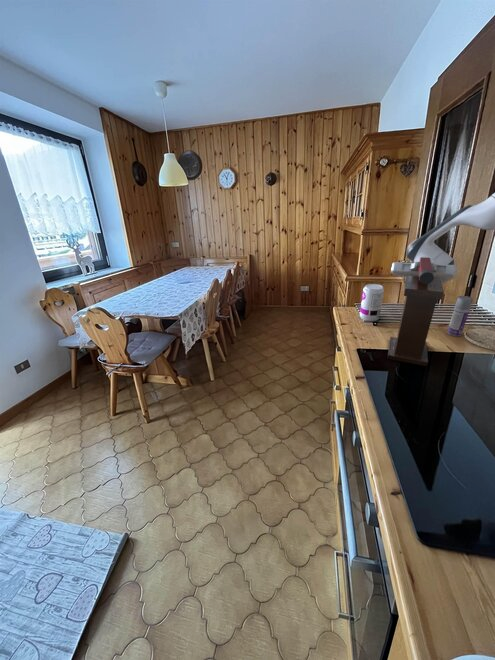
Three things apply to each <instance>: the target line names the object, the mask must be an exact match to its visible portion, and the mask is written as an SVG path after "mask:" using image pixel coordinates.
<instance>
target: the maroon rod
mask: <svg viewBox="0 0 495 660" xmlns="http://www.w3.org/2000/svg"><path fill="white" fill-rule="evenodd" d="M419 262H420V267H419V281H420V282H421V283H423V284H429V283H431V282H432V281H433V279H434V275H433V270H432V265H431V260H430V258H425V257H420V261H419Z"/></svg>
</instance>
